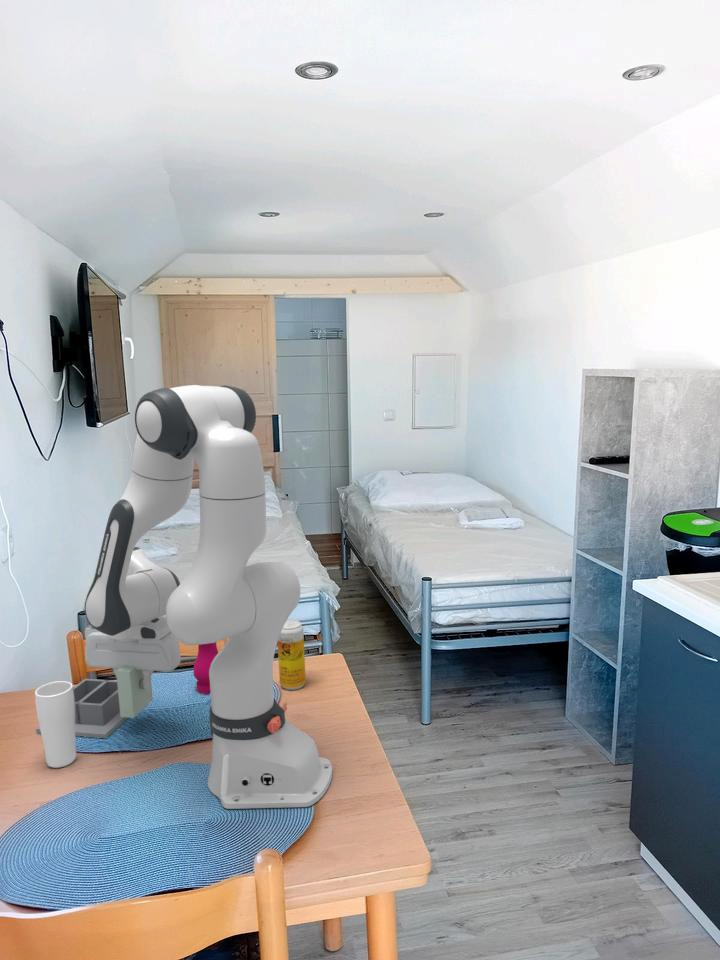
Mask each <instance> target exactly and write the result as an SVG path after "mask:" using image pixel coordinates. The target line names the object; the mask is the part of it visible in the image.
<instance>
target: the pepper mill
mask: <svg viewBox="0 0 720 960" xmlns="http://www.w3.org/2000/svg"><path fill="white" fill-rule="evenodd" d="M217 645H218V644H217V642H215V643H209V644H201V645H197V647H198V649H197V650H198V651H197V655H196V659H195V662H194V664H193V672H192V674H193V677H194V678H195V679H196V680H197V681H196V683H195V684H196V691H197V693H200V694H202V693H203V694H204V695H207V694H209V695H211V694H210V678H209V670H210V666H211V663H212V661H213V659H214V658H215V657H216V655H217V654H218V653H219V650H218V647H217Z"/></svg>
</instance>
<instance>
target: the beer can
mask: <svg viewBox="0 0 720 960" xmlns="http://www.w3.org/2000/svg"><path fill="white" fill-rule="evenodd" d="M304 636H305V635H304V627H303V625H302V623H301V622H300V621H299V620H293V619H292V620H291V619H290V620H286V622H285V624H284V626H283V628H282V631H281V633H280V636H279V639H278V642H277V655H278V656H277V657H278V677H279V685H280V687H282V688H283V689H284V690H287V691H296V690H299V689H302V688H303V687H304V686H305V684H306V682H307V679H306V678H307V677H306V676H307V675H306V657H305V640H304V639H305V638H304Z"/></svg>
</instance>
